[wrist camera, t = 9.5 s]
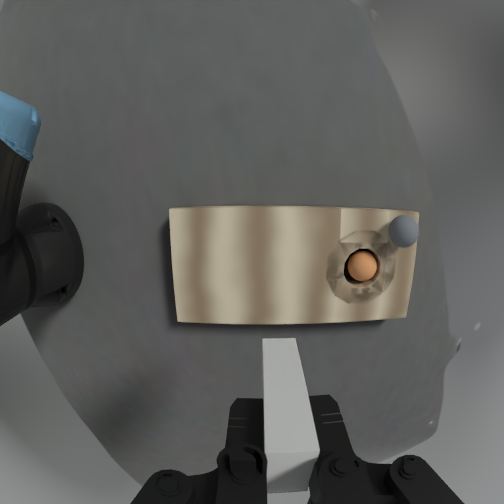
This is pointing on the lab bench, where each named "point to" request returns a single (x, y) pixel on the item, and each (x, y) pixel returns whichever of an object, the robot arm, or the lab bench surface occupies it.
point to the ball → (362, 265)
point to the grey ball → (403, 231)
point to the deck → (286, 264)
